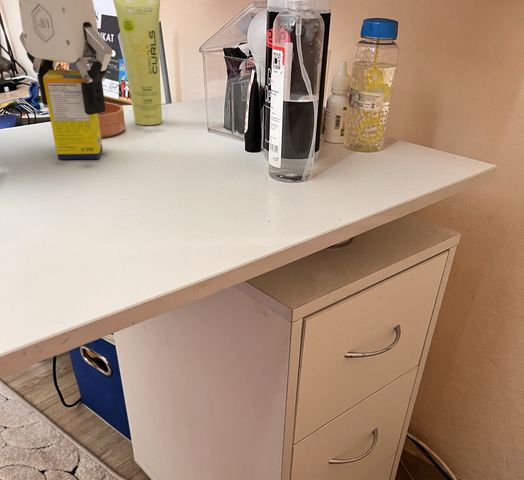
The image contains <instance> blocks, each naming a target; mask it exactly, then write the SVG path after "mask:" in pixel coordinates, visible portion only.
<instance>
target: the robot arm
mask: <svg viewBox="0 0 524 480" xmlns="http://www.w3.org/2000/svg"><path fill="white" fill-rule="evenodd" d="M94 5H95V4H94V1H93V0H18V7H19V15H20V23H21V29H22V32H21V34H19V41H20V43H21V44H22V46H23V48H24V51H26V56H27V58H28V60H29V61H30V62H31V64H32V70H33V72H34V73H35V74H36V75H37V76H36V77H37V83H38V87H39V93H40V98H41V103H42V104H43V105H44V106H48V103H47V98H46V92H45V87H44V82H43V76H44V75H45V74H46V73H47V72H48V71H49V70H56V69H55V68H56V64H57V63H58V62H59V63H65V64H75V66H76V68H77V70H79V71H80V73H81V75H82V77H83V79H84V81H85V82H83V83H81V87H82V94H83V101H84V108H85V112H86V114H88V115H93V114H97V113H102V112H104V111H105V102H106V101H105V93H104V87H103V82H104V81H105V80H106V74H107V73H108V70H109V68H110V65H109V64H110V61H111V59H112V57H113V49H112V47H111V46H110V45H109V44H108V43H107V42H106V41H105V40H104V38H102V36H101V35H100V34H99V29H98V23H97V17H96V11H95V6H94ZM88 65H89V66H90V68H88Z"/></svg>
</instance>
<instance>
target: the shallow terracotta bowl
mask: <svg viewBox="0 0 524 480" xmlns="http://www.w3.org/2000/svg"><path fill="white" fill-rule="evenodd" d="M98 119H99V126H100V133H101V139H104V138H109V137H114V136H117V135H120V134H121V133H122V132H123V131H125V130H126V122H125V112H124V106H122V105H120V104H118V103H114V102H108V101H105V111H104V112H102V113H98Z"/></svg>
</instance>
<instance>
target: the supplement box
mask: <svg viewBox="0 0 524 480" xmlns="http://www.w3.org/2000/svg"><path fill="white" fill-rule="evenodd" d="M43 82H44V87H45V92H46V98H47V103H48V105H47V109H48V114H49V120H50V125H51V129H52V135H53V140H54V145H55V151H56V156H57V159H58V160H87V159H88V160H89V159H90V160H92V159H93V160H95V159H96V160H99V159H100V158H101V153H102V150H103V142H102V138H101V133H100V126H99V119H98V113H97V114H93V115H88V114H86V112H85V108H84V101H83V94H82V87H81V83H83V82H85V81H84V79H83V77H82V75H81V73H80V71H79V70H78V69H74V70H73V69H71V70H70V69H54V70H49V71H48V72H47V73H46V74H45V75H44V76H43Z"/></svg>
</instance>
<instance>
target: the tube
mask: <svg viewBox="0 0 524 480" xmlns="http://www.w3.org/2000/svg"><path fill="white" fill-rule="evenodd" d="M112 2H113V5H114V9H115V13H116V18H117V23H118V28H119V32H120V37H121V43H122V48H123V54H124V59H125V66H126V72H127V78H128V84H129V92H130V98H131V105H132V106H131V107H132V112H133V113H132V114H133V119H134V123H135V124H137V125H139V126H154V125H160V124H161V123H162V122H163V112H162V109H163V108H162V94H161V93H162V91H161V71H160V70H161V69H160V66H161V65H160V63H161V62H160V9H161V0H112Z"/></svg>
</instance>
